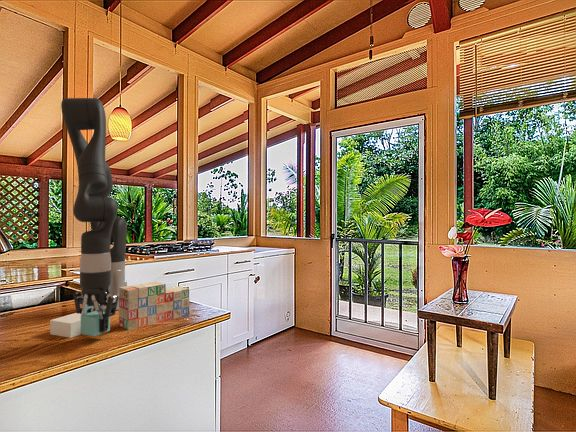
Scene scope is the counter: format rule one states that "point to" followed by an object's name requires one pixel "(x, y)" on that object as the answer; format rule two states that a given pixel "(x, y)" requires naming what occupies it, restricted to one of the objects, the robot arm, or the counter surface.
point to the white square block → (66, 325)
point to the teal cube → (91, 324)
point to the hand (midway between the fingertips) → (95, 330)
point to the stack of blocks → (151, 304)
